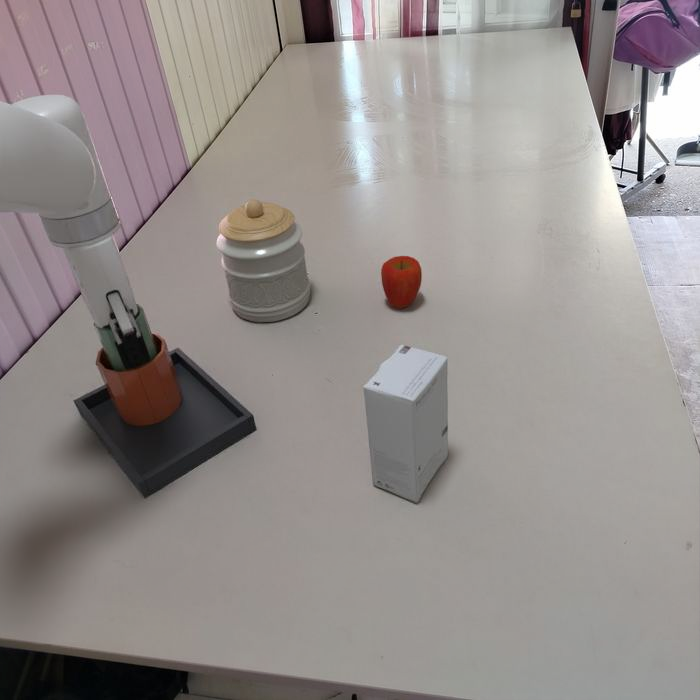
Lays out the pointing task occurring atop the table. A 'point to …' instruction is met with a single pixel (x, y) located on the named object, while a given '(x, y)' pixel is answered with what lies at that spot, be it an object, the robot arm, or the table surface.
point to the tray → (169, 428)
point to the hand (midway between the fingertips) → (130, 349)
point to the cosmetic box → (407, 420)
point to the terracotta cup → (143, 387)
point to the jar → (264, 262)
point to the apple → (401, 280)
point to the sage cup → (109, 339)
